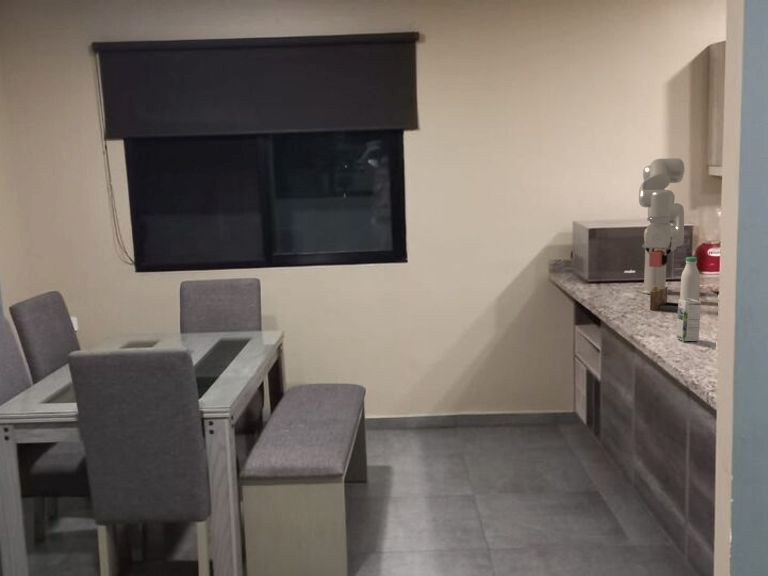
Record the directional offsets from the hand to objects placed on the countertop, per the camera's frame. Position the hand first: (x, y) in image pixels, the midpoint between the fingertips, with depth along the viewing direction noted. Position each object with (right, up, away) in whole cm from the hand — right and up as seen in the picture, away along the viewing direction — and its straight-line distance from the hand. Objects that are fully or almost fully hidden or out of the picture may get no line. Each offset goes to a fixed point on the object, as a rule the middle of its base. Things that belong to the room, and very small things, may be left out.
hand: (658, 263), depth 319 cm
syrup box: (-10, -29, -55) cm, 63 cm away
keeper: (+7, -19, -2) cm, 21 cm away
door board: (+1, -19, +2) cm, 19 cm away
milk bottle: (+18, -17, +13) cm, 28 cm away
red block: (0, -1, 0) cm, 1 cm away
